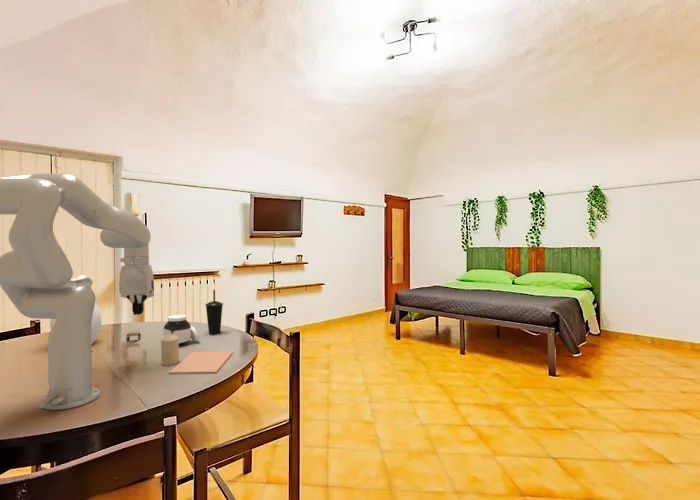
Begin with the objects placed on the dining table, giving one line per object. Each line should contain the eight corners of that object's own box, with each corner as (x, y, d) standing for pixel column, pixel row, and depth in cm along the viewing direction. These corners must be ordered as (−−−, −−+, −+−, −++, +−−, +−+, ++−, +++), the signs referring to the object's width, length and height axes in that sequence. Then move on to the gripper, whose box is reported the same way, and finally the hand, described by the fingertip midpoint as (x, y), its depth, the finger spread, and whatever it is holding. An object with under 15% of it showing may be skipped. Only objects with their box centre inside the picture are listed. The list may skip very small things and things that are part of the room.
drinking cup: (204, 332, 177) (204, 289, 176) (222, 330, 180) (221, 288, 180) (206, 336, 170) (205, 291, 169) (224, 334, 173) (223, 290, 173)
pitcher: (96, 348, 151) (95, 278, 150) (43, 353, 145) (42, 279, 144) (109, 334, 173) (108, 272, 173) (64, 337, 167) (63, 274, 166)
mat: (216, 373, 124) (216, 371, 124) (169, 374, 123) (168, 372, 123) (233, 352, 146) (233, 351, 146) (192, 353, 145) (192, 351, 145)
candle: (172, 366, 131) (171, 337, 131) (157, 365, 132) (157, 336, 132) (182, 361, 136) (181, 333, 136) (168, 360, 137) (168, 332, 137)
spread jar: (160, 345, 155) (160, 317, 155) (181, 338, 166) (180, 312, 166) (184, 348, 151) (184, 319, 151) (203, 341, 162) (203, 314, 162)
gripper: (108, 262, 128) (109, 316, 129) (154, 262, 129) (155, 316, 130) (120, 260, 136) (121, 311, 137) (163, 260, 137) (164, 311, 138)
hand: (138, 313), depth 133 cm, fingers closed
